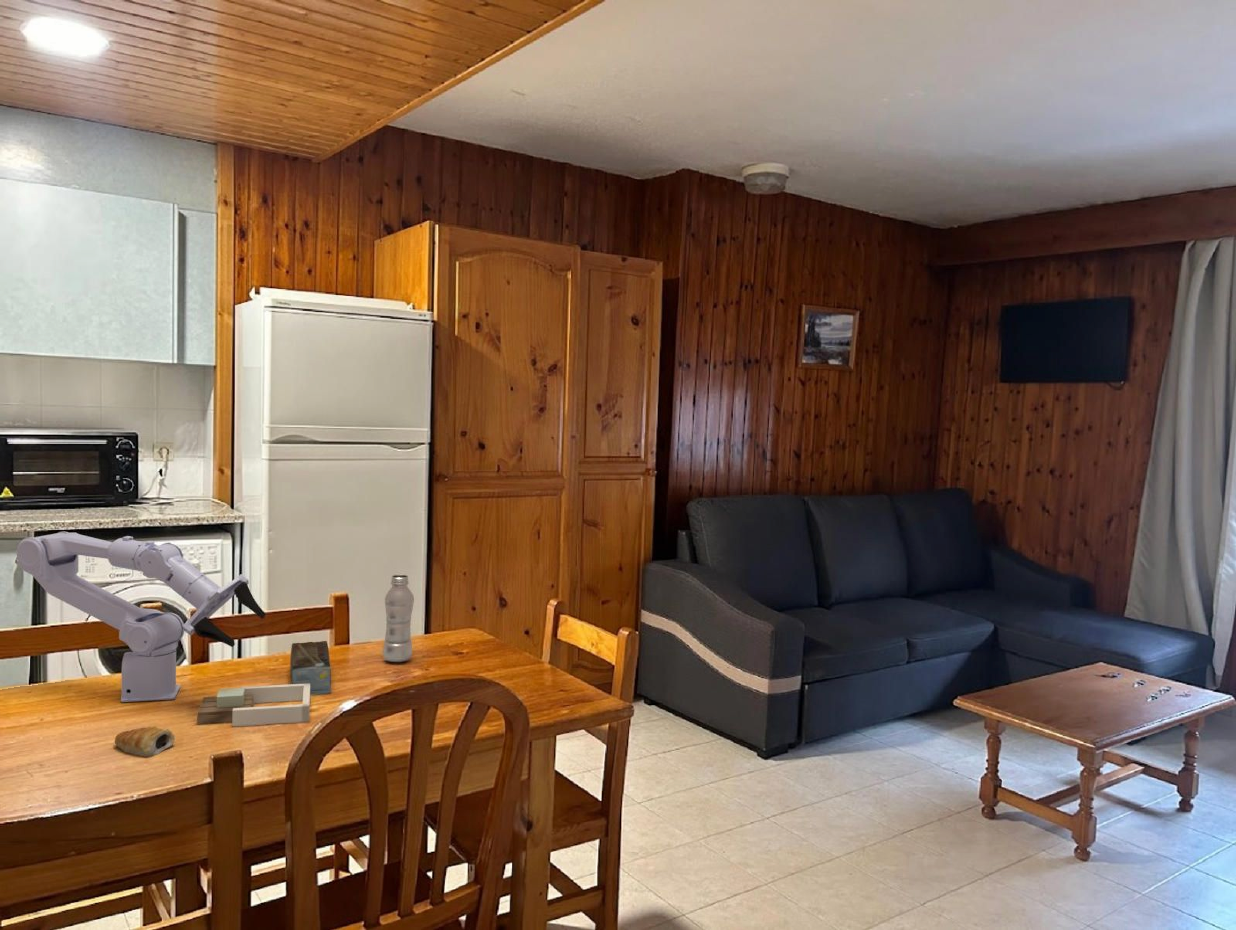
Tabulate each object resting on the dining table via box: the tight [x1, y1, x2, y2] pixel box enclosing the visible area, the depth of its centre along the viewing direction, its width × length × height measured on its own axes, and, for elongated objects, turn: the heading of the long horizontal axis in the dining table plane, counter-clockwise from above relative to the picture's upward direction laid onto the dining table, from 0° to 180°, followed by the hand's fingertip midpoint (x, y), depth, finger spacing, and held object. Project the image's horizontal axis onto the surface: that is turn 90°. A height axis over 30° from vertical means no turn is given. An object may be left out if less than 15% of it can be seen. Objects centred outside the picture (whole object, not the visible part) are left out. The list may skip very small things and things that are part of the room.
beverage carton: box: [289, 640, 332, 696], centre depth 189 cm, size 8×19×7 cm, turn 20°
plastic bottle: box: [382, 574, 415, 663], centre depth 205 cm, size 6×7×20 cm
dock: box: [231, 683, 311, 727], centre depth 170 cm, size 13×13×3 cm
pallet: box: [196, 695, 255, 726], centre depth 168 cm, size 9×9×3 cm
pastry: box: [114, 726, 176, 758], centre depth 151 cm, size 9×7×4 cm
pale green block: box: [216, 687, 245, 708], centre depth 168 cm, size 4×4×2 cm
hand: (248, 629), depth 172 cm, fingers open, 7 cm apart
